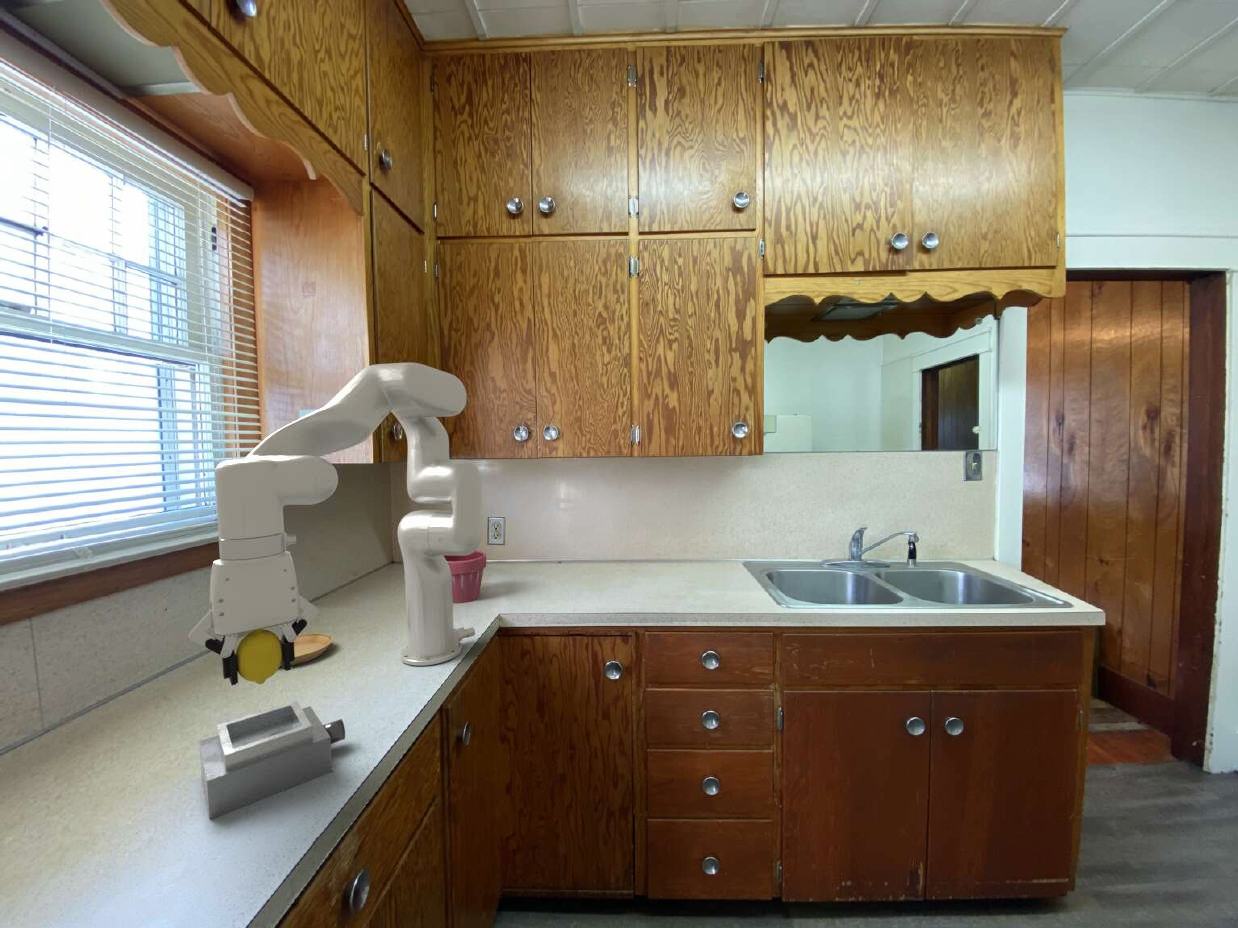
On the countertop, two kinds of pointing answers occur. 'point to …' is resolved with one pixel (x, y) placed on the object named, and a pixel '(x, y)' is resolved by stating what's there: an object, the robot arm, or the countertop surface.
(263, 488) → the robot arm
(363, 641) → the countertop surface
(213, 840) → the countertop surface
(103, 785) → the countertop surface
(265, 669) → the lemon
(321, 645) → the plant saucer
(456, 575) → the plant pot
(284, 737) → the housing
